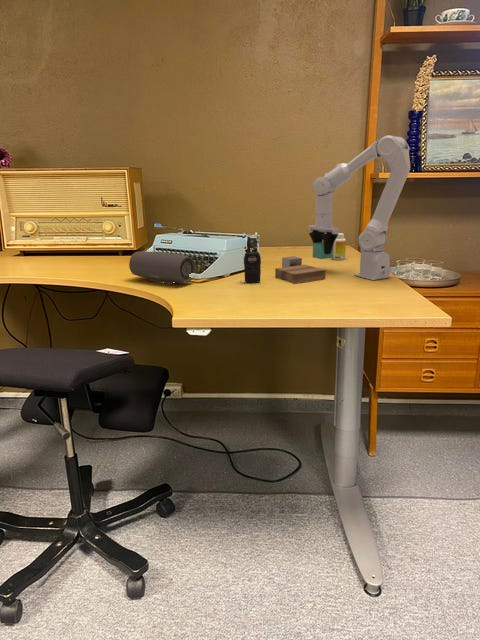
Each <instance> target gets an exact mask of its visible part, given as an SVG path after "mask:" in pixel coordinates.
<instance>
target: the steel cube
mask: <svg viewBox="0 0 480 640" xmlns="http://www.w3.org/2000/svg"><path fill="white" fill-rule="evenodd" d="M302 260H303V259H302V257H298V256H294V255H293V256H285V257H281V266H282V267H281V268H283V267H290V266H298V265H303V264H302V262H303V261H302Z"/></svg>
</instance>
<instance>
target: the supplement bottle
mask: <svg viewBox="0 0 480 640" xmlns="http://www.w3.org/2000/svg"><path fill="white" fill-rule="evenodd" d="M346 243H347V239H346V238H345V234H344V233H342V232H339V234H338V236H337V238H336V240H335V242H334V244H333V258H331V259H332V260H335V261H343V260H345V259H346V248H347V246H346Z"/></svg>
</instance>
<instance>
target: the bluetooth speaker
mask: <svg viewBox="0 0 480 640" xmlns="http://www.w3.org/2000/svg"><path fill="white" fill-rule="evenodd" d="M128 267H129V270H130V272H131V273H132V274H133V275H134V276H137V277H141V278H146V279H149V281H150V282H152V281H154V282H153V283H157V282H164V283H173V282H176V283H189V282H191V281H192V280H193V279H194V278H191V277H189V274H191V273H195V272H196V273H197V265H196V263H195V260H194V259H193V257H191V256H189V255H183V254H178V253H171V252H169V253H168V252H163V251H135V252H134V253H132V255H131V257H130V258H129V263H128ZM196 273H195V274H196ZM164 283H163V284H164Z"/></svg>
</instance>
